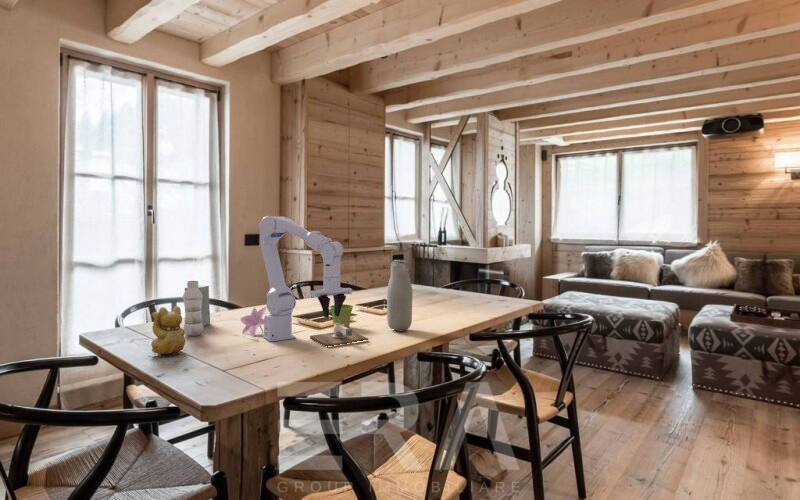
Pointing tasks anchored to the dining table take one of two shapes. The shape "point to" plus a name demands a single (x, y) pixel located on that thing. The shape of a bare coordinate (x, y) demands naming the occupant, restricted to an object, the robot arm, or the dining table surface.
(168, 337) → the decorative figurine
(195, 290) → the plastic bottle
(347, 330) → the gray-tipped lever post
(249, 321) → the lily
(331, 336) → the brown rectangular board
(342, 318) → the plant pot
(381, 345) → the dining table surface
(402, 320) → the grey water bottle
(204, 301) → the skincare box
